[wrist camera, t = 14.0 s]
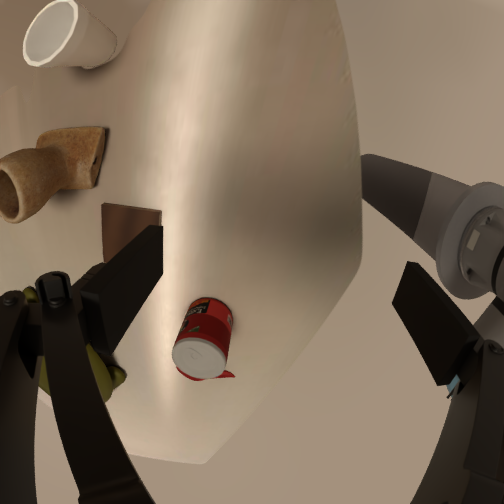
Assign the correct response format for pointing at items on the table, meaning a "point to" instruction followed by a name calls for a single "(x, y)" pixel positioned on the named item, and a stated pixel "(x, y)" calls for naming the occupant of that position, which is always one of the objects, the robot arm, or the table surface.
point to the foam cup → (67, 37)
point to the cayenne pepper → (223, 375)
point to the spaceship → (104, 376)
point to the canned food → (204, 339)
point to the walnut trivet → (124, 226)
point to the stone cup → (49, 170)
